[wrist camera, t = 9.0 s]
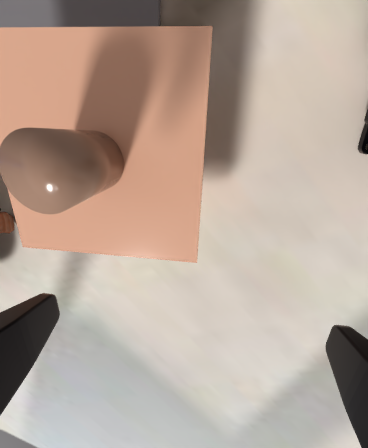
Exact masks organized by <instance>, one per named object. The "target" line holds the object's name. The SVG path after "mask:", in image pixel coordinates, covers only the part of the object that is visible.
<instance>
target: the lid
mask: <svg viewBox="0 0 368 448" xmlns="http://www.w3.org/2000/svg"><path fill="white" fill-rule="evenodd" d="M211 46H212V26H143V27H0V174H1V177H2V179H3V181H4V183H5V185H6V187H7V189H8V193H9V197H10V200H11V204H12V208H13V212H14V215H15V219H16V223H17V227H18V230H19V234H20V238H21V242H22V245H23V247H28V248H39V249H50V250H61V251H72V252H83V253H95V254H106V255H117V256H128V257H139V258H150V259H161V260H172V261H183V262H194V263H197V256H198V241H199V226H200V211H201V196H202V181H203V166H204V151H205V136H206V121H207V106H208V91H209V76H210V61H211Z"/></svg>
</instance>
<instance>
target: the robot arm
mask: <svg viewBox="0 0 368 448" xmlns="http://www.w3.org/2000/svg"><path fill="white" fill-rule="evenodd" d="M367 144H368V110H367V113H366V116H365V126H364V129H363V132H362V136H361V139H360V142H359V145H358V150H359V152H360V153H363V154H368V149H367V150H366V145H367ZM59 315H60V312H59V308H58V303H57V299H56V296H55V295H53V294H46V293H42V294H39V295H37V296H35V297H33V298H31V299H28V300H26V301H24V302H22V303H20V304H18V305H16V306H13V307H11V308H9V309H7V310H5V311H3V312H1V313H0V415H1V414H2V412H3V411H4V409H5V408H6V406H7V405H8V403H9V402H10V400H11V399H12V397H13V396H14V394H15V393H16V391H17V390H18V388H19V387H20V385H21V384H22V382H23V380H24V379H25V377H26V376H27V374H28V373H29V371H30V370H31V368H32V367H33V365H34V363H35V361H36V360H37V358H38V356H39V354H40V353H41V351H42V349H43V347H44V345H45V343H46V342H47V340H48V338H49V336H50V334H51V332H52V331H53V329H54V327H55V325H56V323H57V321H58V319H59ZM326 353H327V356H328V359H329V362H330V365H331V368H332V371H333V374H334V377H335V380H336V383H337V386H338V389H339V392H340V395H341V398H342V401H343V404H344V406H345V409H346V412H347V414H348V417H349V419H350V421H351V424H352V426H353V428H354V431H355V433H356V435H357V438H358V440H359V442H360V445H361V447H362V448H368V339H366V338H365V337H364V336H362V335H361V334H360V333H358V332H357V331H355V330H354V329H353V328H351V327H349V326H342V325H334V326H333V327H332V329H331V332H330V334H329V337H328V340H327V342H326Z"/></svg>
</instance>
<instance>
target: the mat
mask: <svg viewBox="0 0 368 448" xmlns="http://www.w3.org/2000/svg"><path fill="white" fill-rule="evenodd" d="M143 26H160V0H0V27H143Z"/></svg>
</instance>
